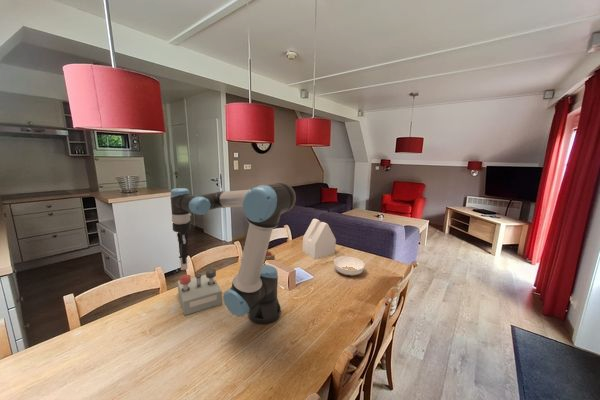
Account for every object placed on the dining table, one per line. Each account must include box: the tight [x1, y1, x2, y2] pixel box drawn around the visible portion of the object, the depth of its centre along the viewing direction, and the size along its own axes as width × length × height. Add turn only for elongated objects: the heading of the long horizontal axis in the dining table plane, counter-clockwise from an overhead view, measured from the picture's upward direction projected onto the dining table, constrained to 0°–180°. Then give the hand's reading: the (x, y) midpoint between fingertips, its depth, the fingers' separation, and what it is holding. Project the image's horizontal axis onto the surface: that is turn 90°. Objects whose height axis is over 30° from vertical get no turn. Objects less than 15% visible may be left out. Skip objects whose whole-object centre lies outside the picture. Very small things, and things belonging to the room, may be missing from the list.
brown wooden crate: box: [264, 249, 276, 263], centre depth 164 cm, size 10×17×5 cm, turn 123°
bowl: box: [333, 255, 366, 277], centre depth 156 cm, size 20×20×6 cm
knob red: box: [179, 274, 192, 291], centre depth 118 cm, size 5×5×9 cm
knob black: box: [205, 268, 217, 285], centre depth 124 cm, size 5×5×9 cm
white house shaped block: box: [302, 218, 337, 260], centre depth 181 cm, size 19×15×25 cm
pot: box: [195, 273, 202, 287], centre depth 121 cm, size 3×3×6 cm
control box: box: [177, 274, 223, 316], centre depth 122 cm, size 20×17×7 cm
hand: (184, 268), depth 116 cm, fingers closed
